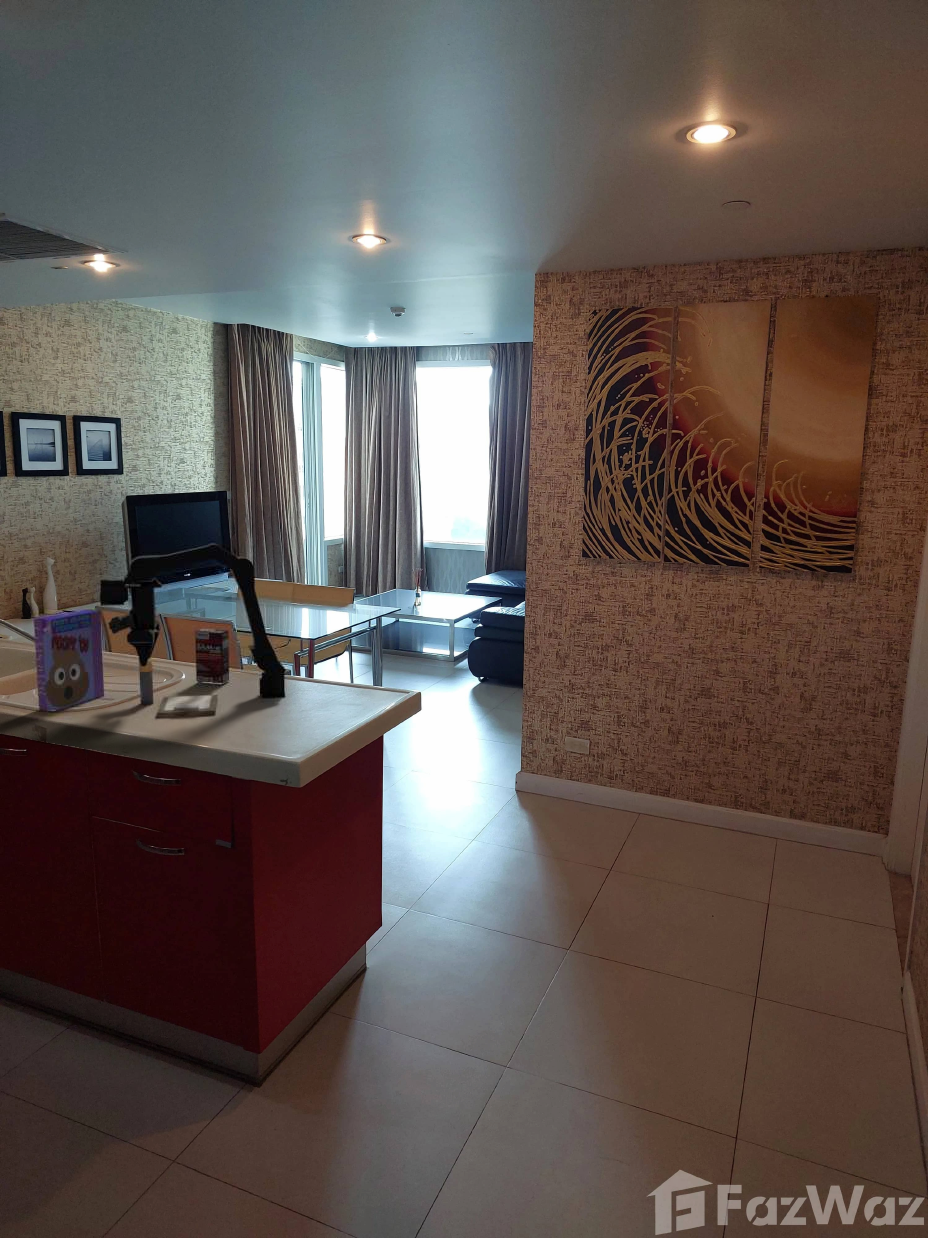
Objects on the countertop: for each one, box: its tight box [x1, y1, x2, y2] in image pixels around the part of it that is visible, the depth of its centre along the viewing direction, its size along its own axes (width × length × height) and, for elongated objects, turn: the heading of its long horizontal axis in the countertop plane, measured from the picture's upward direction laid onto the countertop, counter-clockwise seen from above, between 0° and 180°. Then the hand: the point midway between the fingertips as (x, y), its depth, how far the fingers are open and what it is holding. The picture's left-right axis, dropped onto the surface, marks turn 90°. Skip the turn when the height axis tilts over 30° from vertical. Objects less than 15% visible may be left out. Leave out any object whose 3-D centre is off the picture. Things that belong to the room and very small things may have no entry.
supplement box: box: [194, 628, 230, 684], centre depth 238 cm, size 9×5×16 cm, turn 80°
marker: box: [138, 658, 154, 706], centre depth 214 cm, size 3×3×12 cm
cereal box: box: [33, 608, 105, 711], centre depth 212 cm, size 17×5×24 cm, turn 162°
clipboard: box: [156, 694, 218, 718], centre depth 212 cm, size 14×16×2 cm
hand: (145, 662), depth 213 cm, fingers open, 8 cm apart
